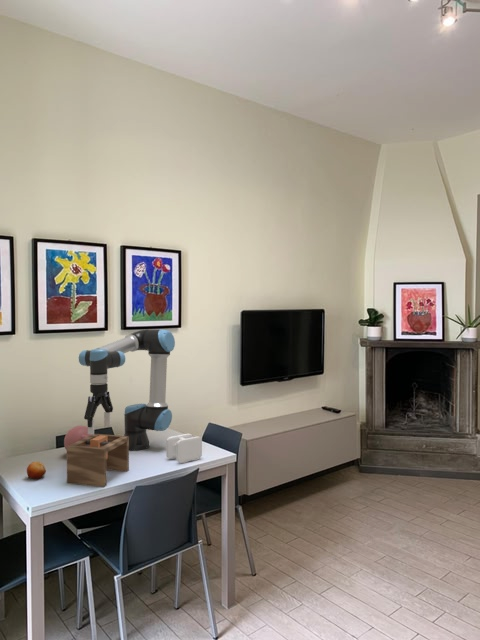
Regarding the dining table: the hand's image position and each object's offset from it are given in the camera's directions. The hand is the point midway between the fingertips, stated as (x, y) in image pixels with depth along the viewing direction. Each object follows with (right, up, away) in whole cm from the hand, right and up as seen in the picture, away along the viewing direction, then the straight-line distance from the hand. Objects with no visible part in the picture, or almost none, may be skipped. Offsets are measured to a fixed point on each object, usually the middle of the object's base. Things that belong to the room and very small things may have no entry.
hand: (99, 430), depth 214 cm
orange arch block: (0, -14, 0) cm, 14 cm away
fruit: (-28, -21, -2) cm, 35 cm away
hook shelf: (0, -21, 0) cm, 21 cm away
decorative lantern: (-18, -21, +29) cm, 39 cm away
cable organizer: (+35, -21, +25) cm, 48 cm away
